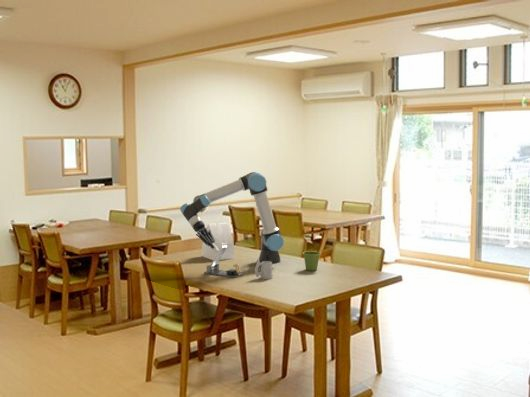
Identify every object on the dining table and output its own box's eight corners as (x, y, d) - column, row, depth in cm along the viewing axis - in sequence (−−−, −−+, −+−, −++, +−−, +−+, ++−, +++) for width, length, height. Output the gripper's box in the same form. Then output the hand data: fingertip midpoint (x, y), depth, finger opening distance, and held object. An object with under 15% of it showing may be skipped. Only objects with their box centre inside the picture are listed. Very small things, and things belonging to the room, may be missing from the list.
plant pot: (299, 270, 397) (299, 253, 396) (306, 267, 408) (307, 250, 407) (316, 272, 392) (316, 255, 391) (323, 269, 402) (323, 252, 401)
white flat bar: (210, 268, 389) (208, 267, 390) (215, 267, 393) (213, 265, 394) (223, 247, 382) (221, 246, 383) (228, 246, 386) (226, 244, 387)
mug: (274, 278, 375) (275, 259, 374) (257, 280, 370) (257, 261, 369) (269, 276, 382) (269, 257, 381) (252, 277, 377) (252, 258, 376)
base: (204, 273, 389) (204, 262, 388) (213, 270, 397) (213, 259, 397) (234, 278, 376) (234, 266, 375) (243, 275, 384) (243, 263, 384)
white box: (202, 256, 445) (202, 222, 442) (220, 254, 453) (220, 220, 450) (214, 260, 429) (214, 225, 426) (233, 258, 437) (233, 224, 434)
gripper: (200, 226, 403) (220, 253, 395) (187, 228, 392) (207, 257, 384) (206, 218, 399) (226, 246, 392) (193, 221, 388) (214, 249, 381)
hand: (217, 251), depth 388 cm, fingers closed
